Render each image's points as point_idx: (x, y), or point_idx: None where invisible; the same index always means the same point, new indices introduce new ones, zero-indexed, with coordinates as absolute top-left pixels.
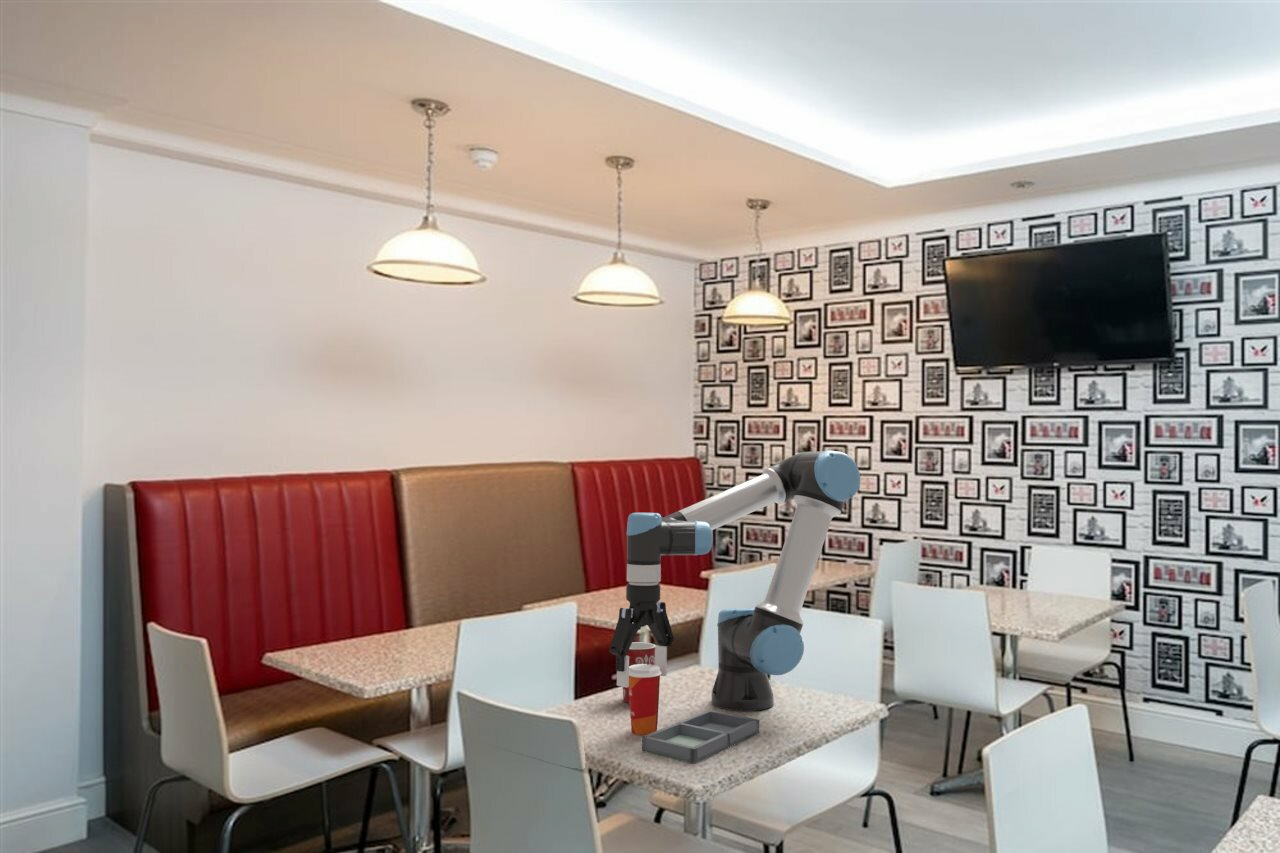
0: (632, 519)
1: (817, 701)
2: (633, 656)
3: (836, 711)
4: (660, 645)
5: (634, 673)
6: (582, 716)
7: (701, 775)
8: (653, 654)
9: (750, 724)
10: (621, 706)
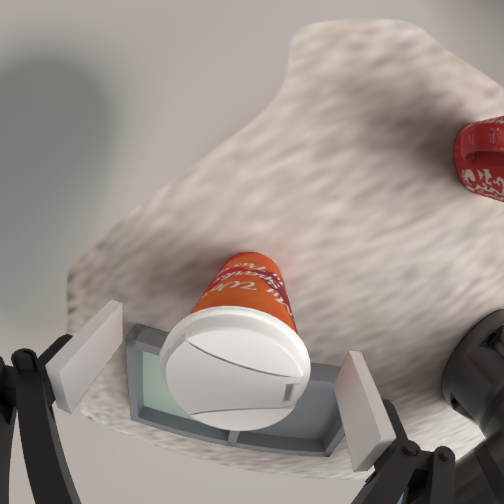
0: None
1: None
2: None
3: None
4: (384, 450)
5: (164, 364)
6: (304, 75)
7: (111, 414)
8: None
9: (301, 454)
10: (427, 136)
